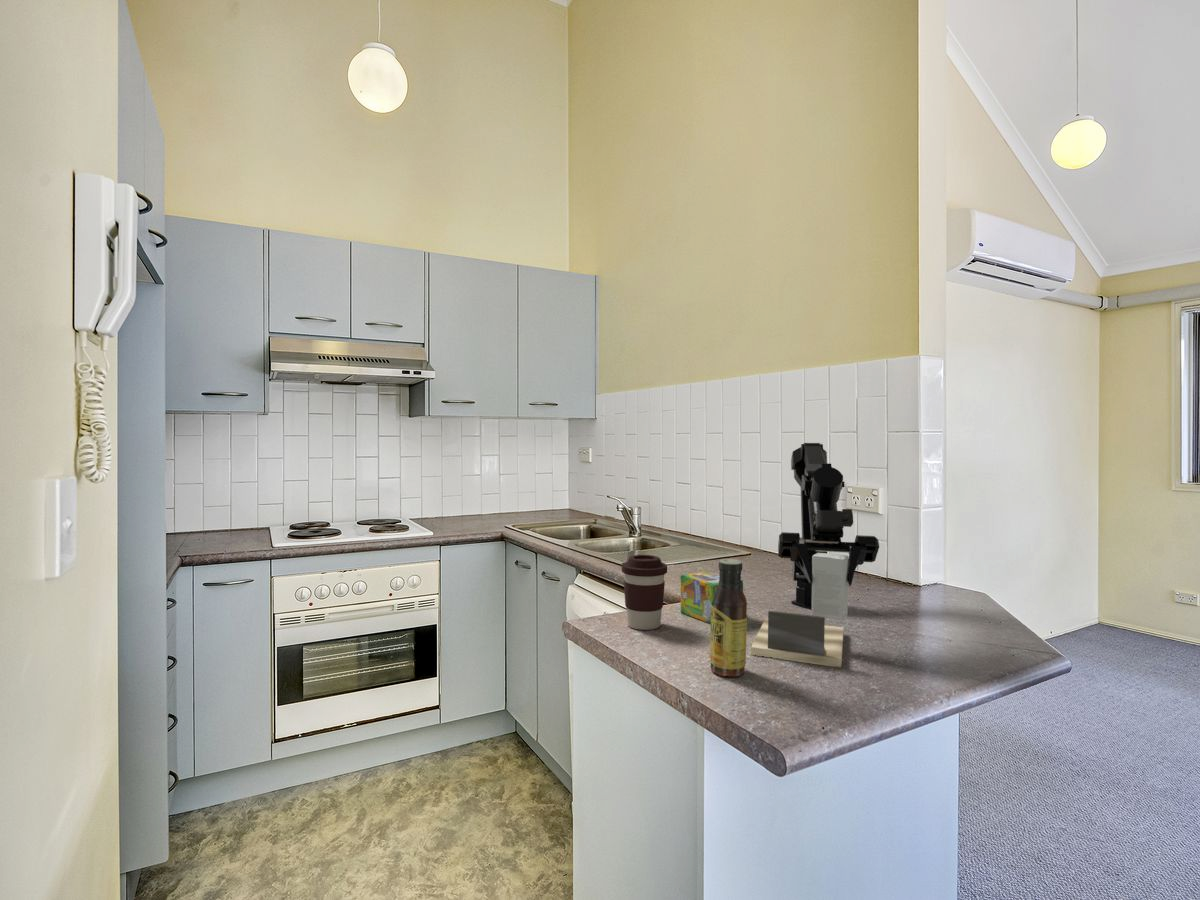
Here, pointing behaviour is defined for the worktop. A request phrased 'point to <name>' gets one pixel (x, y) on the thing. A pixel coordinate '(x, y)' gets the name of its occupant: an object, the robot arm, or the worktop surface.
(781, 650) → the base with upright panel
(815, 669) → the worktop surface
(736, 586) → the sauce bottle
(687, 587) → the chalk box
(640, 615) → the coffee cup
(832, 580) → the skincare box
